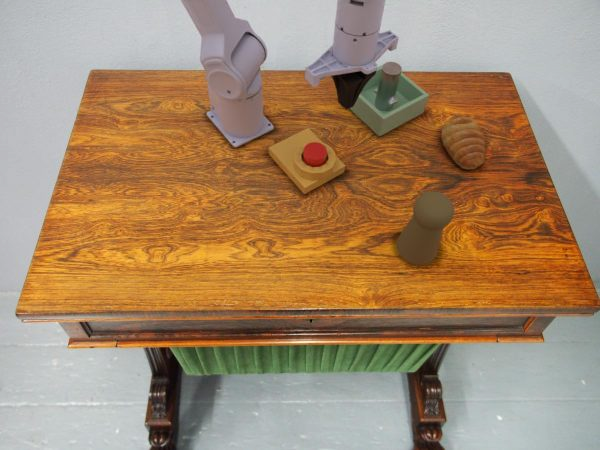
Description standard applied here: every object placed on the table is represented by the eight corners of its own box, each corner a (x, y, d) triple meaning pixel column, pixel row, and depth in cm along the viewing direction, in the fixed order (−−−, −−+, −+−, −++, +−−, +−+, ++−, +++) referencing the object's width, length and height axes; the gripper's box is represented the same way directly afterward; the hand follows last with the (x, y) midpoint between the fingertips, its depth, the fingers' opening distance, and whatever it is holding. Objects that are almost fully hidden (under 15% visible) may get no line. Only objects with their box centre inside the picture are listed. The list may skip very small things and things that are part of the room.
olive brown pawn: (436, 268, 70) (460, 226, 61) (394, 260, 71) (411, 217, 62) (438, 233, 74) (461, 188, 65) (398, 226, 74) (415, 180, 65)
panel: (268, 154, 81) (268, 139, 78) (307, 134, 84) (308, 119, 81) (305, 195, 77) (306, 181, 74) (345, 173, 80) (348, 158, 77)
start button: (298, 155, 77) (298, 148, 76) (316, 146, 78) (317, 138, 77) (312, 170, 76) (312, 163, 74) (330, 160, 77) (331, 152, 75)
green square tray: (341, 101, 89) (343, 83, 85) (385, 79, 92) (389, 61, 89) (379, 136, 84) (383, 119, 81) (423, 112, 88) (429, 94, 84)
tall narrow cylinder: (368, 101, 88) (375, 64, 82) (382, 94, 89) (390, 57, 83) (384, 115, 86) (393, 79, 80) (398, 108, 87) (408, 71, 81)
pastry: (491, 170, 81) (499, 154, 78) (451, 173, 80) (458, 158, 77) (473, 129, 86) (480, 112, 83) (435, 131, 85) (441, 115, 82)
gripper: (331, 60, 58) (323, 140, 69) (422, 19, 63) (400, 101, 74) (296, 29, 61) (294, 111, 72) (385, -8, 66) (369, 74, 77)
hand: (345, 104), depth 73 cm, fingers closed
